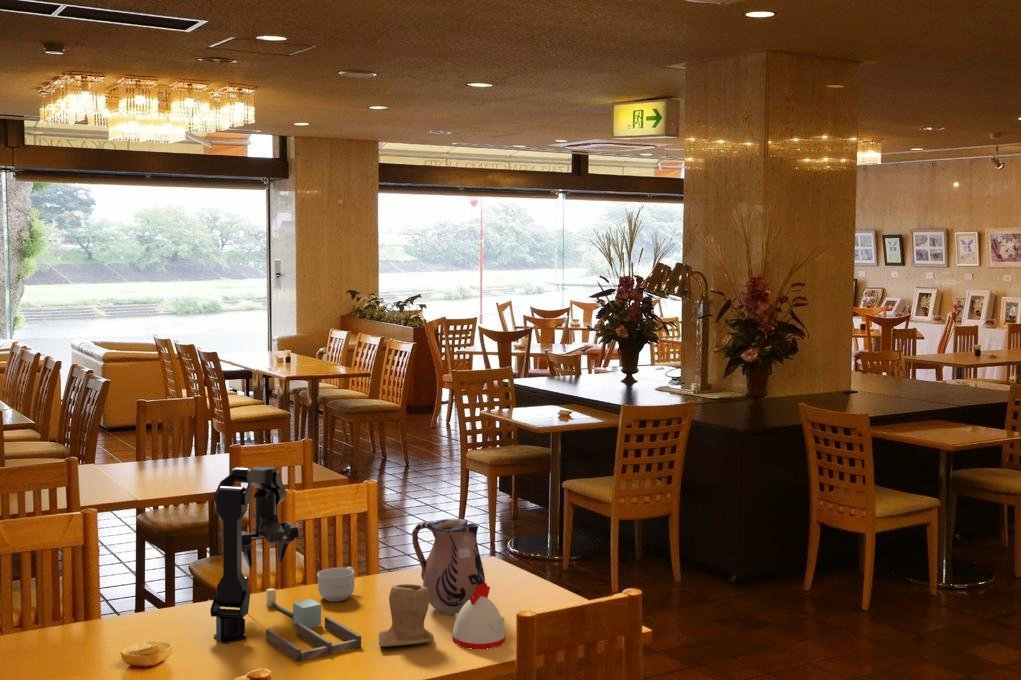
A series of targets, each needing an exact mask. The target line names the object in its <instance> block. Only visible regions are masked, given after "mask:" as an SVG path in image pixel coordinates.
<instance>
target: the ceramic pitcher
mask: <svg viewBox="0 0 1021 680" xmlns="http://www.w3.org/2000/svg"><path fill="white" fill-rule="evenodd" d="M468 522H469V521H468V520H467V519H463V518H451V519H450V518H449V519H448V518H446V519H440V520H436V521H432V522H429V521H424V522H420V523H418V524H416V525H415V527H414V529H412V532H411V533H412V534H411V537H412V538H411V539H412V546H413V549H414V551H415V555H416V557H417V559H418V562H419V565H420V568H421V574H420V575H421V579H422V581H423V582H422V586H424V587H426V588H427V589H428V591H429V605H431V606H432V607H433V609H435V610H437V611H438V612H440V613H443V614H448V615H456V613H457V614H459V612H460V610H461V609H462V607H463V606H464V604H465V603H466V602H467V601H468V600H470V597H473V591H476V586H477V585H478V586H480V584H482V585H483V584H484V583H486V577H485V572H484V567H483V562H482V557H481V555H480V550H479V546H478V539H477V535H478V534H477V533H478V529H479V525H477V524H475V523H468ZM423 529H426V530H427V529H428V530H429V531H430V532H431V533H432V535H433V537H434V541H433V544H432V546H431V549H430V552H429V554H428V556H427V558H425V556H424V553H423V550H422V548H421V546H420V543H419V532H420V531H421V530H423Z"/></svg>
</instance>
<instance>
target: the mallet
mask: <svg viewBox="0 0 1021 680" xmlns="http://www.w3.org/2000/svg"><path fill="white" fill-rule="evenodd" d="M265 592H266V602H265V603H266V604H265V605H266V607H269V608H272V607H273V608H275V609H277V610H279V611H280V612H281V613H285V614H286V615H288V616H290V617H292V625H293V624H294V625H293V626H295V625H296V623H299V622H300V623H301V624H303V625H304V626H306V627H308V628H309V629H313V628H312V627H314V628H316V627H315V626H318V627H320V626H319V625H321V626H322V603H320V602H317V601H316V600H314V599H312V598H310V599H309V598H308V599H305V600H299V601H295V602H292V611H290V610H288V609H287V608H284V607H283V606H281V605H279V604H278V603H277V594H276V593H277V589H276V588H267V589H266V591H265Z"/></svg>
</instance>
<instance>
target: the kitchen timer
mask: <svg viewBox="0 0 1021 680" xmlns="http://www.w3.org/2000/svg"><path fill="white" fill-rule="evenodd" d="M490 589H491V586H490V585H488V583H486V582H485V583H484V584H483V585H482V584H480V586H478V585H477V586H476V591H473V597H470V600H468V601H467V602H466V603H465V604H464V606H463V607H462V609H461V610H460V612H459V614H457V613H456V614H454V625H453V630H452V643H453V642H454V643H455V644H457V645H459V646H461V647H460V648H462V647H465V648H464V649H466V648H472V649H471V650H473V649H485V650H491V649H490V648H492V649H495V648H494V647H496V648H498V646H499V647H501V646H503V645H504V644H505V642H506V631H505V618H504V616H501V613H500V610H499V609H498V608H497V605H496V604H495V603H494V602H493V601H491V600H490V599H489V598H488V597H489V593H490ZM503 643H504V644H503ZM455 644H454V645H455ZM502 644H503V645H502ZM457 645H456V646H457ZM500 645H501V646H500ZM459 646H458V647H459ZM487 648H488V649H487Z"/></svg>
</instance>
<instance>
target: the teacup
mask: <svg viewBox="0 0 1021 680" xmlns="http://www.w3.org/2000/svg"><path fill="white" fill-rule="evenodd" d="M316 576H317V586H318V587H317V588H318V594H319V595H320V597H322V598H324V600H326V601H328V602H340V601H345V600H347V599H349V598H350V596H351V595H352V594H353V593H354V591H355V569H354V567H352V566H347V567H331V568H326V569H323V570H320V571H318V572H317V573H316Z"/></svg>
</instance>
